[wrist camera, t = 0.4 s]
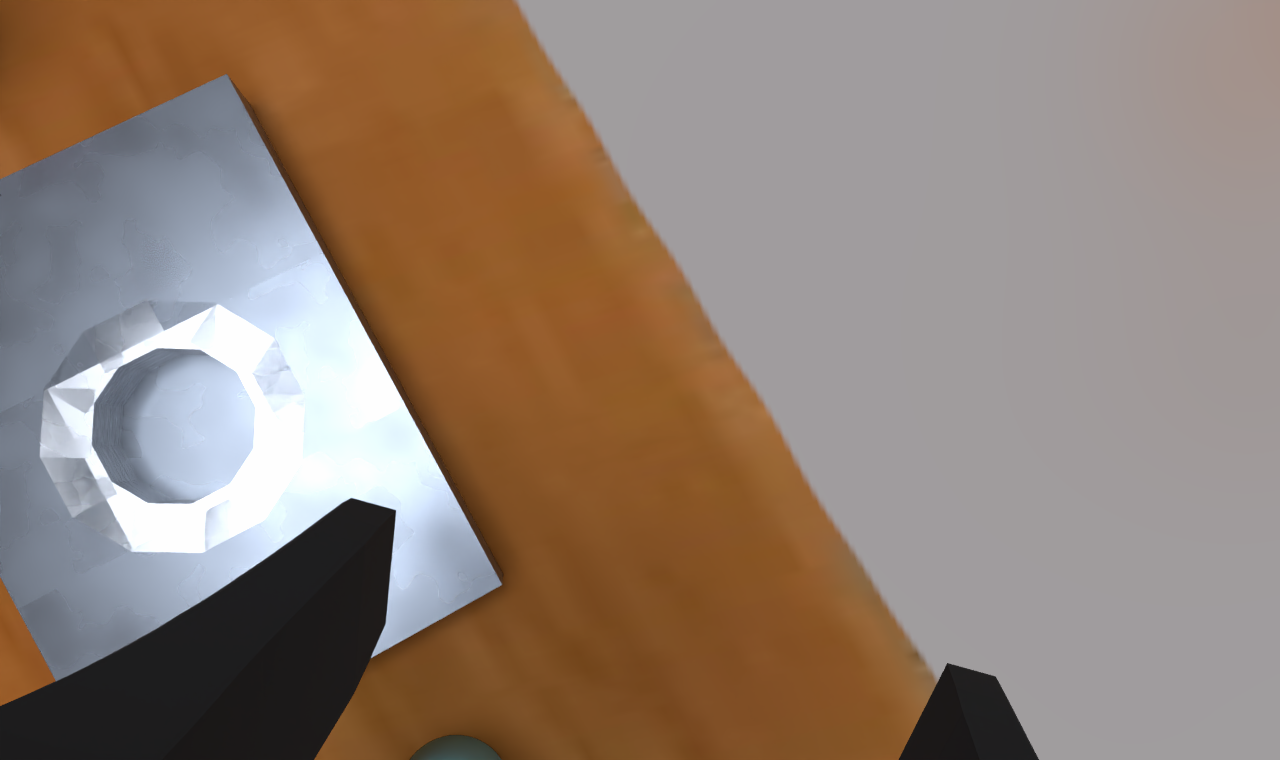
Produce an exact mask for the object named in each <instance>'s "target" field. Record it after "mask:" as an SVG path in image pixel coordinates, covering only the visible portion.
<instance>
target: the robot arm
mask: <svg viewBox="0 0 1280 760" xmlns="http://www.w3.org/2000/svg"><path fill="white" fill-rule="evenodd" d="M395 519H396V510H394V509H390V508H387V507H383V506H379V505H376V504H372V503H369V502H365V501H361V500H358V499H354V498H350V499H348V500H346V501H344V502H342V503H341V504H340V505H338V506H337V507H336V508H334V509H333V510H332V511H330V512H329V513H328V514H326V515H325V516H324V517H322V518H321V519H319V520H318V521H317V522H315V523H314V524H313V525H311V526H310V527H309V528H307V529H306V530H305V531H303V532H302V533H301V534H299V535H298V536H296V537H295V538H294V539H292V540H291V541H290V542H288V543H287V544H285V545H284V546H283V547H281V548H280V549H278V550H277V551H276V552H274V553H273V554H271V555H270V556H269V557H267V558H266V559H264V560H263V561H261V562H260V563H258V564H257V565H255V566H254V567H252V568H251V569H249V570H248V571H246V572H245V573H244V574H242V575H241V576H239V577H238V578H236V579H235V580H233V581H232V582H230V583H229V584H227V585H226V586H224V587H223V588H221V589H220V590H218V591H217V592H215V593H214V594H212V595H211V596H209V597H207V598H206V599H204V600H202V601H201V602H199V603H198V604H196V605H194V606H193V607H191V608H189V609H188V610H186V611H184V612H183V613H181V614H179V615H178V616H176V617H175V618H173V619H171V620H170V621H168V622H166V623H165V624H163V625H161V626H160V627H158V628H156V629H155V630H153V631H151V632H150V633H148V634H146V635H144V636H142V637H141V638H139V639H137V640H135V641H134V642H132V643H130V644H128V645H126V646H125V647H123V648H121V649H119V650H117V651H115V652H113V653H112V654H110V655H108V656H106V657H104V658H102V659H100V660H98V661H96V662H94V663H92V664H90V665H88V666H86V667H84V668H82V669H80V670H78V671H76V672H74V673H72V674H70V675H68V676H66V677H64V678H62V679H60V680H58V681H55V682H53V683H51V684H49V685H47V686H45V687H42V688H40V689H38V690H36V691H34V692H32V693H29V694H27V695H25V696H23V697H20V698H18V699H16V700H13V701H11V702H9V703H7V704H4V705H2V706H0V760H314V759H315V757H316V755H317V754H318V752H319V750H320V749H321V747H322V745H323V744H324V742H325V741H326V739H327V737H328V736H329V734H330V732H331V731H332V729H333V727H334V726H335V724H336V722H337V721H338V719H339V718H340V716H341V714H342V713H343V711H344V709H345V708H346V706H347V704H348V703H349V701H350V699H351V698H352V696H353V694H354V692H355V690H356V688H357V686H358V684H359V682H360V679H361V677H362V675H363V673H364V671H365V669H366V667H367V665H368V662H369V660H370V658H371V656H372V654H373V651H374V649H375V647H376V645H377V642H378V640H379V638H380V636H381V634H382V631H383V629H384V627H385V625H386V616H387V605H388V594H389V583H390V573H391V562H392V551H393V541H394V530H395ZM899 760H1039V759H1038V757H1037V755H1036V753H1035V752H1034V749H1033V747H1032V746H1031V744H1030V742H1029V740H1028V738H1027V736H1026V734H1025V732H1024V730H1023V728H1022V726H1021V724H1020V722H1019V720H1018V718H1017V716H1016V714H1015V712H1014V711H1013V709H1012V707H1011V705H1010V703H1009V701H1008V699H1007V697H1006V695H1005V693H1004V691H1003V689H1002V687H1001V686H1000V684H999V682H998V680H997V678H996V677H995V676H991V675H988V674H984V673H981V672H977V671H974V670H970V669H966V668H963V667H959V666H956V665H952V664H948V663H947V665H946V667H945V669H944V671H943V673H942V675H941V677H940V679H939V681H938V683H937V685H936V687H935V689H934V691H933V693H932V695H931V697H930V699H929V701H928V703H927V705H926V707H925V708H924V710H923V712H922V714H921V716H920V718H919V720H918V722H917V724H916V726H915V728H914V730H913V732H912V734H911V736H910V738H909V740H908V742H907V744H906V746H905V748H904V750H903V752H902V754H901V756H900V758H899Z"/></svg>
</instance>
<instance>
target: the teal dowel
mask: <svg viewBox="0 0 1280 760" xmlns="http://www.w3.org/2000/svg"><path fill="white" fill-rule="evenodd" d="M410 760H501V758H500V757H499V756H498V754H497V753H496V752H495V751H494V750H493V749H492V748H491V747H490V746H488V745H487V744H485V743H484V742H482V741H480V740H478V739H475V738H473V737H469V736H463V735H450V736H444V737H441V738H437V739H435V740H433V741H431V742H429V743H427V744H426V745H424V746H423V747H421V748H420V749H419V750H418V751H417V752H416V753H415V754H414V755H413V756H412V757H411V759H410Z"/></svg>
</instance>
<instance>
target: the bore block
mask: <svg viewBox="0 0 1280 760" xmlns="http://www.w3.org/2000/svg"><path fill="white" fill-rule="evenodd" d="M350 498H354V499H358V500H361V501H365V502H369V503H372V504H376V505H379V506H383V507H387V508H390V509H394V510H396V519H395V530H394V541H393V551H392V562H391V573H390V583H389V594H388V605H387V616H386V625H385V627H384V629H383V631H382V634H381V636H380V638H379V640H378V642H377V645H376V647H375V649H374V651H373V654H372V656H371V658H372V657H374V656H376V655H377V654H379V653H381V652H383V651H384V650H386V649H388V648H390V647H392V646H393V645H395V644H397V643H399V642H401V641H402V640H404V639H406V638H408V637H410V636H411V635H413V634H415V633H417V632H418V631H420V630H422V629H424V628H426V627H427V626H429V625H431V624H433V623H435V622H436V621H438V620H440V619H442V618H444V617H445V616H447V615H449V614H451V613H452V612H454V611H456V610H458V609H460V608H461V607H463V606H465V605H467V604H469V603H470V602H472V601H474V600H476V599H478V598H479V597H481V596H483V595H485V594H486V593H488V592H490V591H492V590H494V589H495V588H497V587H499V586H501V585H502V582H503V573H502V571H501V569H500V567H499V565H498V563H497V562H496V560H495V558H494V556H493V554H492V552H491V550H490V549H489V547H488V545H487V543H486V541H485V539H484V537H483V536H482V534H481V532H480V530H479V528H478V526H477V524H476V523H475V521H474V519H473V517H472V515H471V513H470V511H469V510H468V508H467V506H466V504H465V502H464V500H463V498H462V497H461V495H460V493H459V491H458V489H457V487H456V486H455V484H454V482H453V480H452V478H451V476H450V474H449V473H448V471H447V469H446V467H445V465H444V463H443V461H442V460H441V458H440V456H439V454H438V452H437V450H436V448H435V447H434V445H433V443H432V441H431V439H430V437H429V435H428V434H427V432H426V430H425V428H424V426H423V424H422V422H421V421H420V419H419V417H418V415H417V413H416V411H415V409H414V408H413V406H412V404H411V402H410V400H409V398H408V396H407V395H406V393H405V391H404V389H403V387H402V385H401V384H400V382H399V380H398V378H397V376H396V374H395V372H394V371H393V369H392V367H391V365H390V363H389V361H388V359H387V358H386V356H385V354H384V352H383V350H382V348H381V346H380V345H379V343H378V341H377V339H376V337H375V335H374V333H373V332H372V330H371V328H370V326H369V324H368V322H367V320H366V319H365V317H364V315H363V313H362V311H361V309H360V307H359V306H358V304H357V302H356V300H355V298H354V296H353V294H352V293H351V291H350V289H349V287H348V285H347V283H346V282H345V280H344V278H343V276H342V274H341V272H340V270H339V269H338V267H337V265H336V263H335V261H334V259H333V257H332V256H331V254H330V252H329V250H328V248H327V246H326V244H325V243H324V241H323V239H322V237H321V235H320V233H319V231H318V230H317V228H316V226H315V224H314V222H313V220H312V218H311V217H310V215H309V213H308V211H307V209H306V207H305V205H304V204H303V202H302V200H301V198H300V196H299V194H298V193H297V191H296V189H295V187H294V185H293V183H292V181H291V180H290V178H289V176H288V174H287V172H286V170H285V168H284V167H283V165H282V163H281V161H280V159H279V157H278V155H277V154H276V152H275V150H274V148H273V146H272V144H271V142H270V141H269V139H268V137H267V135H266V133H265V131H264V129H263V128H262V126H261V124H260V122H259V120H258V118H257V116H256V115H255V113H254V111H253V109H252V107H251V105H250V103H249V102H248V101H247V100H246V98H245V97H244V96H243V94H242V93H241V92H240V91H239V89H238V88H237V87H236V85H235V84H234V83H233V81H232V80H231V79H230V78H229V76H228V75H227V74H226V75H224V76H221V77H219V78H217V79H215V80H213V81H211V82H209V83H206V84H204V85H202V86H200V87H198V88H196V89H194V90H191V91H189V92H187V93H185V94H183V95H181V96H178V97H176V98H174V99H172V100H170V101H168V102H166V103H163V104H161V105H159V106H157V107H155V108H153V109H151V110H148V111H146V112H144V113H142V114H140V115H138V116H136V117H133V118H131V119H129V120H127V121H125V122H123V123H120V124H118V125H116V126H114V127H112V128H110V129H108V130H105V131H103V132H101V133H99V134H97V135H95V136H93V137H90V138H88V139H86V140H84V141H82V142H80V143H78V144H75V145H73V146H71V147H69V148H67V149H65V150H63V151H60V152H58V153H56V154H54V155H52V156H50V157H47V158H45V159H43V160H41V161H39V162H37V163H35V164H32V165H30V166H28V167H26V168H24V169H22V170H20V171H17V172H15V173H13V174H11V175H9V176H7V177H5V178H2V179H0V577H1V579H2V581H3V583H4V585H5V586H6V588H7V590H8V592H9V594H10V596H11V598H12V600H13V601H14V603H15V605H16V607H17V609H18V611H19V613H20V615H21V616H22V618H23V620H24V622H25V624H26V626H27V628H28V629H29V631H30V633H31V635H32V637H33V639H34V641H35V643H36V644H37V646H38V648H39V650H40V652H41V654H42V656H43V658H44V659H45V661H46V663H47V665H48V667H49V669H50V671H51V672H52V674H53V676H54V678H55V680H56V681H58V680H60V679H62V678H64V677H66V676H68V675H70V674H72V673H74V672H76V671H78V670H80V669H82V668H84V667H86V666H88V665H90V664H92V663H94V662H96V661H98V660H100V659H102V658H104V657H106V656H108V655H110V654H112V653H113V652H115V651H117V650H119V649H121V648H123V647H125V646H126V645H128V644H130V643H132V642H134V641H135V640H137V639H139V638H141V637H142V636H144V635H146V634H148V633H150V632H151V631H153V630H155V629H156V628H158V627H160V626H161V625H163V624H165V623H166V622H168V621H170V620H171V619H173V618H175V617H176V616H178V615H179V614H181V613H183V612H184V611H186V610H188V609H189V608H191V607H193V606H194V605H196V604H198V603H199V602H201V601H202V600H204V599H206V598H207V597H209V596H211V595H212V594H214V593H215V592H217V591H218V590H220V589H221V588H223V587H224V586H226V585H227V584H229V583H230V582H232V581H233V580H235V579H236V578H238V577H239V576H241V575H242V574H244V573H245V572H246V571H248V570H249V569H251V568H252V567H254V566H255V565H257V564H258V563H260V562H261V561H263V560H264V559H266V558H267V557H269V556H270V555H271V554H273V553H274V552H276V551H277V550H278V549H280V548H281V547H283V546H284V545H285V544H287V543H288V542H290V541H291V540H292V539H294V538H295V537H296V536H298V535H299V534H301V533H302V532H303V531H305V530H306V529H307V528H309V527H310V526H311V525H313V524H314V523H315V522H317V521H318V520H319V519H321V518H322V517H324V516H325V515H326V514H328V513H329V512H330V511H332V510H333V509H334V508H336V507H337V506H338V505H340V504H341V503H342V502H344V501H346V500H348V499H350Z"/></svg>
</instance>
